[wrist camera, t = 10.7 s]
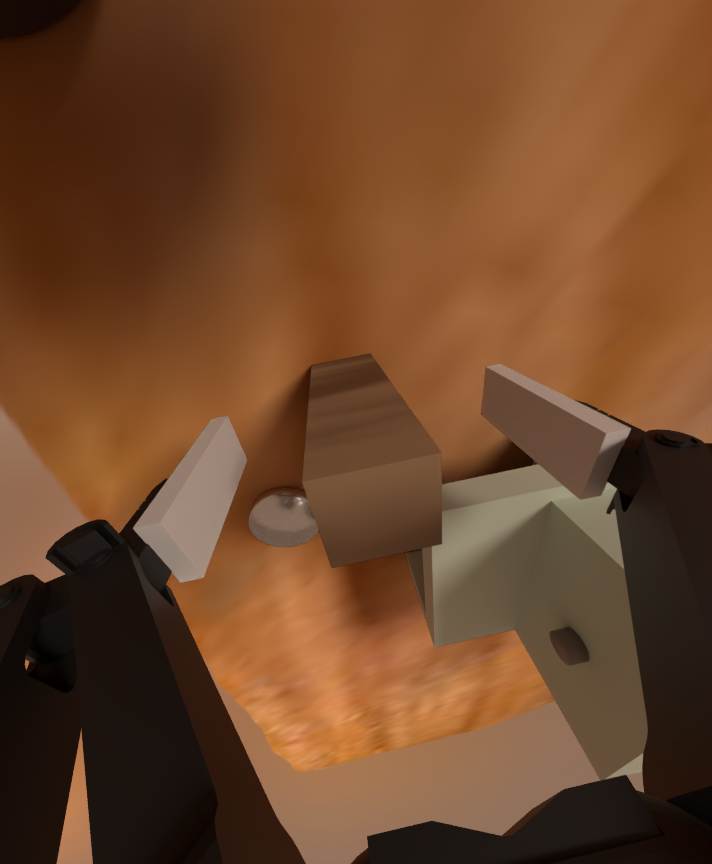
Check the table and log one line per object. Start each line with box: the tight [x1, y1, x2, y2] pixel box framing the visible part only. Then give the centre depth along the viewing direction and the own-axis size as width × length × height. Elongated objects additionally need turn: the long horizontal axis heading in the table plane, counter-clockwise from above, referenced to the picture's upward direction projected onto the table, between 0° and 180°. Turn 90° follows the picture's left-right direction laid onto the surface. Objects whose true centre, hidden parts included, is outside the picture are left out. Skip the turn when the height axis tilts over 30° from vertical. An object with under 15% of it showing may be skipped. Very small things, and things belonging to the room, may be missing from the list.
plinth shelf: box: [406, 461, 648, 780], centre depth 19 cm, size 16×14×16 cm
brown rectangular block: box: [302, 354, 442, 568], centre depth 17 cm, size 18×4×12 cm, turn 10°
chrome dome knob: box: [248, 487, 319, 547], centre depth 24 cm, size 6×6×2 cm
